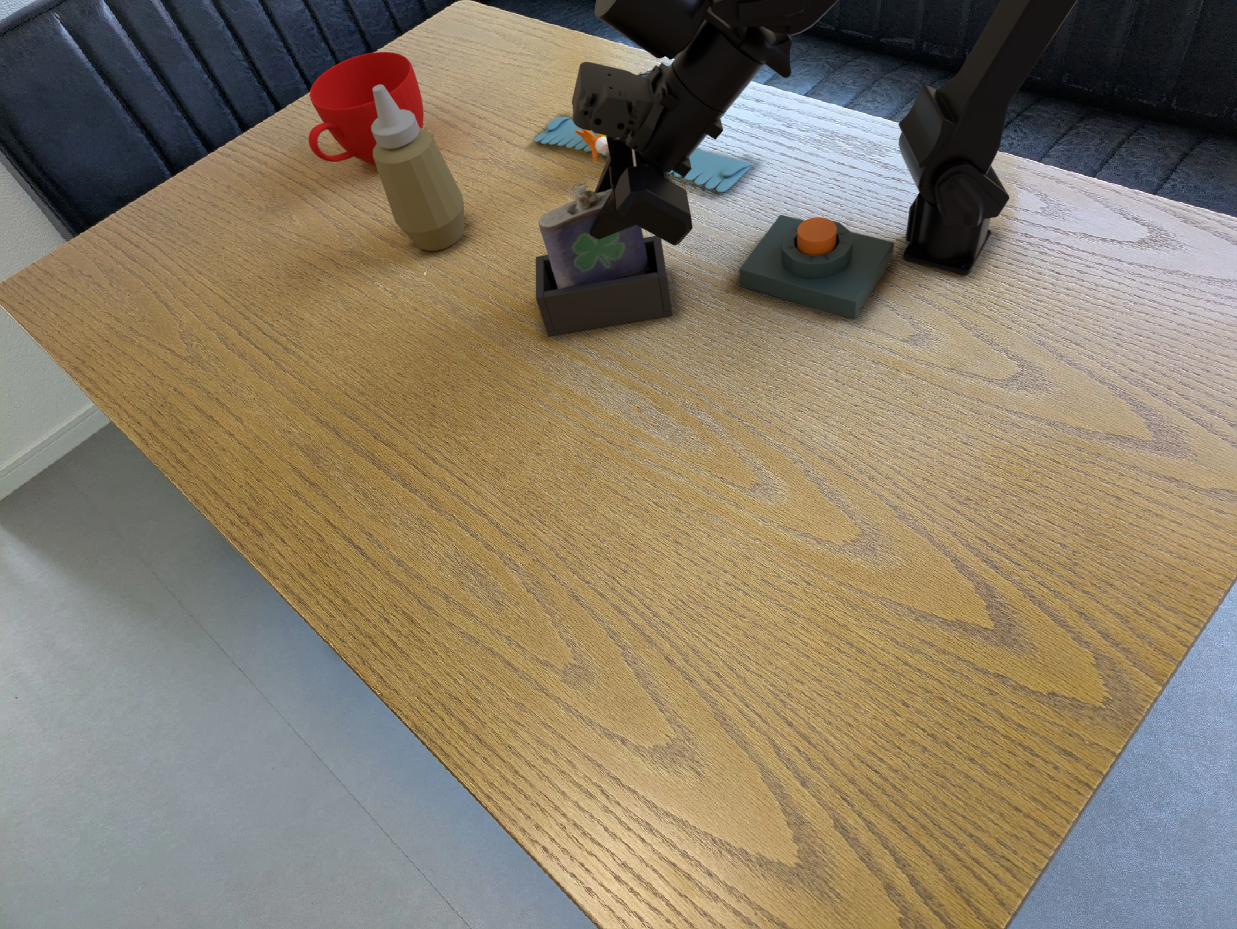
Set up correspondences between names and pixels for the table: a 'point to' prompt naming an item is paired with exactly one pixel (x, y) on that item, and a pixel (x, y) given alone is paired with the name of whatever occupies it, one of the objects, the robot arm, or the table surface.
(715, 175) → the owl figurine
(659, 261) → the box
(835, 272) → the panel
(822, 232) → the button
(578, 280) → the flask
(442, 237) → the squeeze bottle
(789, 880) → the table surface
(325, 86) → the ceramic cup
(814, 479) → the table surface
